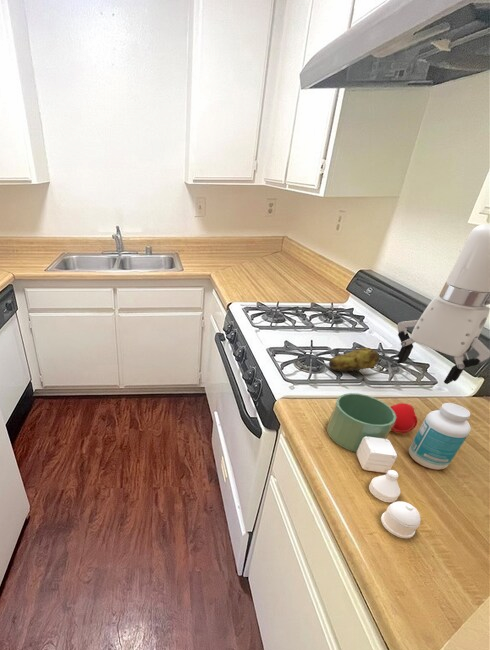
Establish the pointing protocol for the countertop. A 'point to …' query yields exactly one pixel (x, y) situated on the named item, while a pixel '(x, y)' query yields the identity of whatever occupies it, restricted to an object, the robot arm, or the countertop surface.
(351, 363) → the potato
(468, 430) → the pill bottle
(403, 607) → the countertop surface
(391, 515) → the container set
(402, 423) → the cap
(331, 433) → the cup
